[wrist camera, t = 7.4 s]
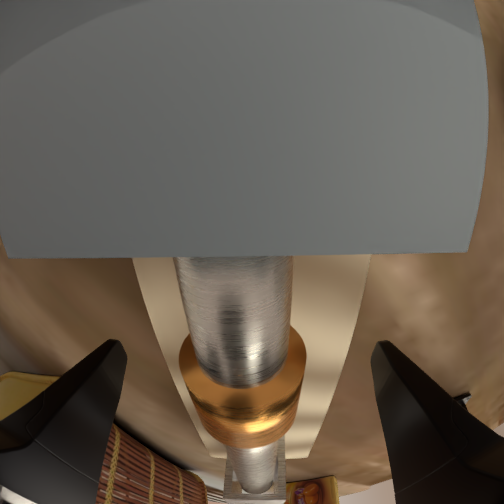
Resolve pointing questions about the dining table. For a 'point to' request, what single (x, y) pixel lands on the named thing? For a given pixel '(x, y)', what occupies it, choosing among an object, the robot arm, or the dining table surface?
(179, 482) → the picnic basket
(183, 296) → the tube
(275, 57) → the socket
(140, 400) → the dining table surface
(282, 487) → the sleeve
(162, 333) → the board
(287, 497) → the candy box
